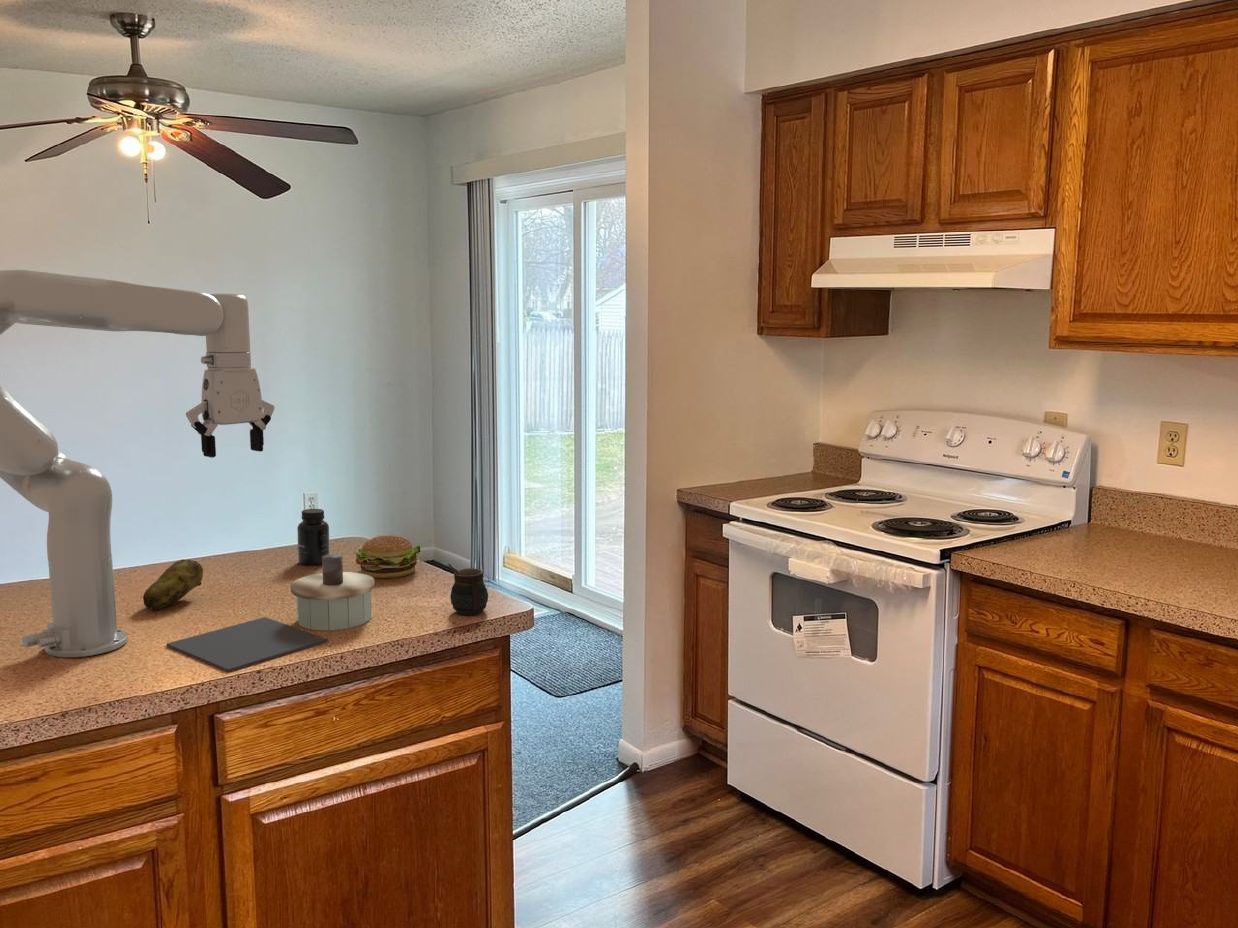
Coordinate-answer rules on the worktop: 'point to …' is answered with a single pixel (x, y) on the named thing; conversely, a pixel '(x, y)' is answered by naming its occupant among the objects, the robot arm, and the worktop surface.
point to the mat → (246, 643)
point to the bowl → (334, 612)
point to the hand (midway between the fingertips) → (233, 453)
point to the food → (387, 557)
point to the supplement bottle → (312, 537)
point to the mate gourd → (468, 591)
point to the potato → (173, 584)
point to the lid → (332, 582)
